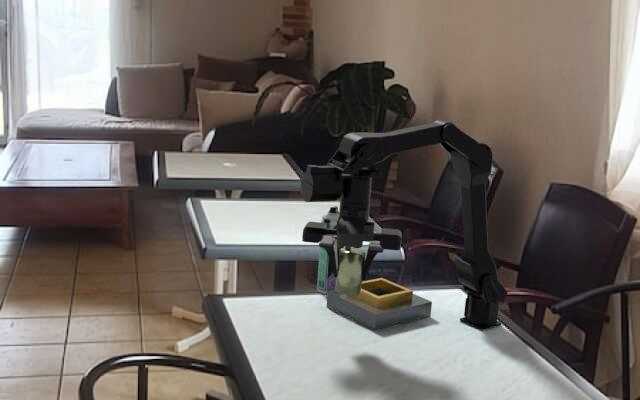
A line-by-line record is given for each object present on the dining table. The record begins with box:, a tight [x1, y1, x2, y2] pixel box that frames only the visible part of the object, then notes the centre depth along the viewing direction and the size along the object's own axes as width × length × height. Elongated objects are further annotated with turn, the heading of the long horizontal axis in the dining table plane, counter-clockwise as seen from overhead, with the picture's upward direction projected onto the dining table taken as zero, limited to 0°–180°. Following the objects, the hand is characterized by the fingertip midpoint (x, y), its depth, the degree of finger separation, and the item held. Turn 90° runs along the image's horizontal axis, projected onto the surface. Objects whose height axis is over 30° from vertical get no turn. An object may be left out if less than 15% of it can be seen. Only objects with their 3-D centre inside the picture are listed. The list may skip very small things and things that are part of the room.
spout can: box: [335, 246, 366, 295], centre depth 157 cm, size 5×5×10 cm
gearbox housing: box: [326, 277, 433, 331], centre depth 176 cm, size 18×16×6 cm
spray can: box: [316, 206, 345, 295], centre depth 185 cm, size 6×6×20 cm
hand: (349, 278), depth 158 cm, fingers closed on spout can, 5 cm apart
